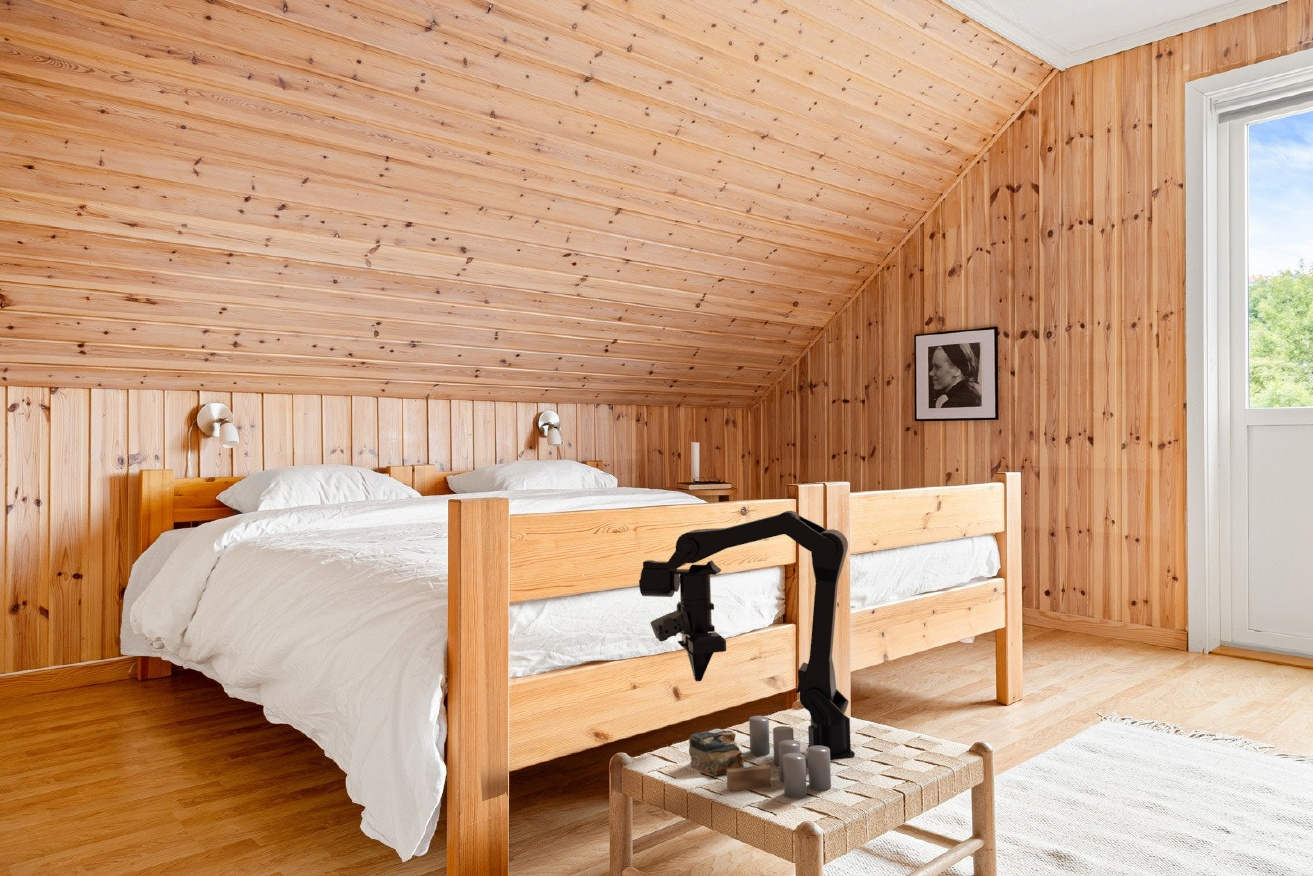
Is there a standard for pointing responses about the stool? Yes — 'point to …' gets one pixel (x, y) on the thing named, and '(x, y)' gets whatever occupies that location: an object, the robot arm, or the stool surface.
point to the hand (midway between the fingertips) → (698, 681)
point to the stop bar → (748, 777)
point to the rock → (715, 751)
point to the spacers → (791, 758)
